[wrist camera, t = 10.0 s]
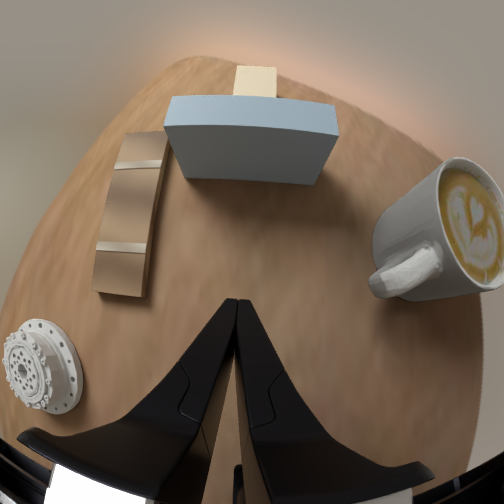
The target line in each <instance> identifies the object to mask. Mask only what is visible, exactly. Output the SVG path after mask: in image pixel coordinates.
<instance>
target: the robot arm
mask: <svg viewBox="0 0 504 504" xmlns="http://www.w3.org/2000/svg"><path fill="white" fill-rule="evenodd" d="M234 352H235V355H234ZM233 359H234V360H235V378H236V393H237V407H238V421H239V433H240V446H241V457H242V465H236V466H235V468H234V485H233V504H504V451H503V452H501V453H500V454H498V455H497V456H495V457H493V458H492V459H490V460H488V461H486V462H485V463H483V464H481V465H480V466H478V467H476V468H474V469H472V470H470V471H468V472H466V473H464V474H462V475H460V476H458V477H456V478H454V479H452V480H450V481H447V482H445V483H443V484H441V485H439V486H437V487H434V488H432V489H430V490H428V491H425V492H423V493H420V494H418V495H415V496H413V495H412V487H415V486H417V485H420V484H423V483H425V482H427V481H430V480H432V479H434V478H435V476H434V474H433V473H432V471H431V470H430V469H429V468H428V467H426V466H425V465H423V464H422V463H421V462H419V461H417V462H412V463H408V464H405V465H402V466H398V467H386V466H381V465H379V464H377V463H375V462H373V461H371V460H369V459H367V458H365V457H363V456H362V455H360V454H358V453H356V452H354V451H353V450H351V449H349V448H347V447H346V446H344V445H342V444H341V443H339V442H338V441H336V440H335V439H334V438H332V437H331V436H330V435H329V434H328V432H327V431H326V430H325V429H324V428H323V426H322V425H321V424H320V422H319V421H318V420H317V418H316V417H315V416H314V414H313V413H312V412H311V410H310V409H309V407H308V406H307V405H306V403H305V402H304V401H303V399H302V398H301V396H300V395H299V393H298V392H297V390H296V388H295V387H294V385H293V383H292V381H291V380H290V378H289V376H288V374H287V372H286V370H285V368H284V366H283V364H282V363H281V361H280V359H279V357H278V355H277V353H276V351H275V349H274V347H273V345H272V343H271V341H270V339H269V337H268V335H267V333H266V331H265V329H264V327H263V325H262V323H261V321H260V319H259V317H258V315H257V313H256V311H255V309H254V307H253V305H252V303H251V301H250V300H245V299H239V300H237V299H232V298H227V299H226V300H225V301H224V302H223V303H222V305H221V306H220V307H219V309H218V310H217V311H216V312H215V314H214V315H213V316H212V318H211V319H210V320H209V322H208V323H207V324H206V325H205V327H204V328H203V329H202V331H201V332H200V333H199V334H198V336H197V337H196V338H195V340H194V341H193V342H192V343H191V345H190V346H189V347H188V349H187V350H186V351H185V352H184V354H183V355H182V356H181V358H180V359H179V361H178V362H177V363H176V364H175V365H174V366H173V368H172V369H171V370H170V371H169V373H168V374H167V375H166V376H165V377H164V379H163V380H162V381H161V382H160V383H159V384H158V385H157V386H156V387H155V388H154V389H153V390H152V391H151V392H150V393H149V394H148V395H147V396H146V397H144V398H143V399H142V400H141V401H140V402H139V403H138V404H137V405H136V406H135V407H134V408H133V409H132V410H131V411H130V412H128V413H127V414H126V415H125V416H123V417H122V418H120V419H119V420H117V421H115V422H112V423H109V424H106V425H103V426H101V427H97V428H94V429H91V430H88V431H85V432H82V433H78V434H75V435H71V436H55V435H52V434H50V433H48V432H46V431H44V430H42V429H40V428H38V427H32V428H30V429H27V430H25V431H24V432H22V433H21V434H20V435H19V436H18V437H17V440H18V441H19V442H21V443H22V444H24V445H25V446H27V447H28V448H30V449H31V450H33V451H35V452H36V453H38V454H40V455H41V456H43V457H45V458H46V459H48V460H50V461H52V462H53V465H52V469H51V470H49V469H47V468H45V467H44V466H42V465H40V464H39V463H37V462H35V461H34V460H32V459H30V458H29V457H27V456H26V455H24V454H23V453H21V452H20V451H18V450H17V449H15V448H14V447H13V446H11V445H10V444H8V443H7V442H5V441H4V440H3V439H1V438H0V504H201V502H202V498H203V494H204V489H205V485H206V481H207V476H208V472H209V467H210V463H211V458H212V454H213V450H214V445H215V441H216V436H217V432H218V427H219V423H220V418H221V414H222V409H223V405H224V400H225V396H226V391H227V387H228V382H229V378H230V373H231V369H232V364H233ZM237 469H242V470H237Z"/></svg>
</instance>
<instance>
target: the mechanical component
mask: <svg viewBox="0 0 504 504" xmlns="http://www.w3.org/2000/svg"><path fill="white" fill-rule="evenodd" d="M6 341H7V343H4V348H5V351H4V359H2V362H3V364H5V369H6V373H7V377H6V379H7V381H8V382H10V384H11V385H10V388H11V389H12V390H14V391H15V396H16V397H19V398H20V399H21V400H22V401H23V402H24V403H25V404H26V406H27V407H32V408H37V409H42V410H43V411H45V412H48V413H51V414H57V415H58V414H62V413H66V412H68V411H70V410H71V409H73V408H74V407H75V406H76V405H77V403H78V402H79V400H80V397H81V394H82V390H83V373H82V368H81V364H80V360H79V358H78V355H77V352H76V350H75V347H74V345H73V344H72V342H71V341H70V339H69V338H68V336H67V335H66V333H65V332H64V331H63V330H62V329H61V328H60V327H58V326H57V325H56V324H54V323H53V322H51V321H47V320H43V319H31V320H28V321H26V322H25V323H23V324H22V326H21V327H20V328H19V330H18V332H16V333H11V334H10V337H7V339H6Z"/></svg>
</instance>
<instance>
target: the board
mask: <svg viewBox="0 0 504 504" xmlns="http://www.w3.org/2000/svg"><path fill="white" fill-rule="evenodd" d="M170 145H171V144H170V141H169V139H168V137H167V134H166V132H165V131H152V132H138V133H127V134H125V137H124V140H123V143H122V146H121V149H120V152H119V155H118V158H117V162H116V163H115V167H114V172H113V176H112V179H111V183H110V187H109V191H108V195H107V199H106V203H105V208H104V212H103V217H102V222H101V227H100V232H99V238H98V241H97V246H96V256H95V263H94V270H93V278H92V288H91V291H97V292H103V293H110V294H118V295H126V296H134V297H142V298H146V291H147V280H148V271H149V262H150V254H151V246H152V239H153V232H154V226H155V219H156V213H157V208H158V202H159V196H160V191H161V186H162V181H163V176H164V171H165V167H166V162H167V158H168V153H169V149H170Z"/></svg>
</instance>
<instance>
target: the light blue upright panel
mask: <svg viewBox="0 0 504 504" xmlns="http://www.w3.org/2000/svg"><path fill="white" fill-rule="evenodd" d="M163 127H164V129H165V132H166V134H167V137H168V139H169V141H170V144H171V146H172V149H173V151H174V154H175V156H176V159H177V161H178V163H179V166H180V168H181V171H182V173H183V175H184V178H208V179H234V180H252V181H267V182H280V183H292V184H303V185H313V186H314V184H315V182H316V180H317V178H318V176H319V174H320V172H321V171H322V169H323V167H324V165H325V163H326V161H327V159H328V157H329V155H330V153H331V151H332V149H333V147H334V145H335V143H336V141H337V139H338V137H339V131H338V124H337V118H336V112H335V106H334V105H329V104H323V103H317V102H310V101H302V100H294V99H285V98H276V68H273V67H258V66H237V72H236V78H235V84H234V90H233V95H191V96H173V97H172V100H171V103H170V106H169V109H168V112H167V115H166V118H165V122H164V125H163Z"/></svg>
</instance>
